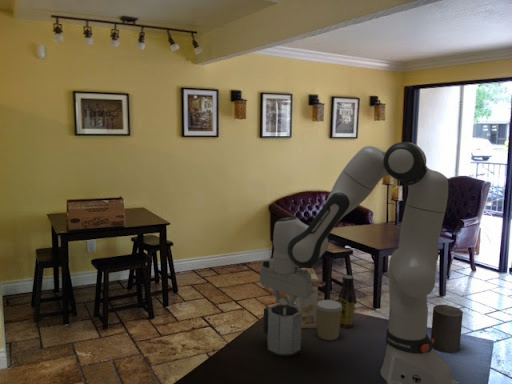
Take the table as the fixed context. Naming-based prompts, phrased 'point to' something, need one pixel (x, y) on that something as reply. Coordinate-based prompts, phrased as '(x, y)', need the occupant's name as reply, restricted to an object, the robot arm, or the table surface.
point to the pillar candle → (446, 328)
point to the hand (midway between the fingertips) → (284, 304)
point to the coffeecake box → (309, 303)
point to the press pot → (283, 330)
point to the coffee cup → (328, 319)
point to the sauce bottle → (347, 302)
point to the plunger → (284, 303)
